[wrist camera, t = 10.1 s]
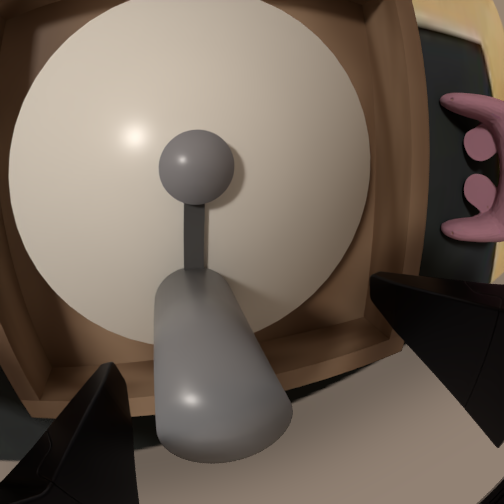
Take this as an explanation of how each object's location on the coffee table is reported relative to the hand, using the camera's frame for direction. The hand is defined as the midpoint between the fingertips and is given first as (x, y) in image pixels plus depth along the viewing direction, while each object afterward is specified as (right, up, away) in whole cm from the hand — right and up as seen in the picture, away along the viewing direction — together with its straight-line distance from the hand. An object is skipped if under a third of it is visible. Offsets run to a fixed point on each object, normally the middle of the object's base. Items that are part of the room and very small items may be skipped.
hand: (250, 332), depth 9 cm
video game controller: (+15, +9, +7) cm, 18 cm away
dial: (-2, +6, +1) cm, 6 cm away
